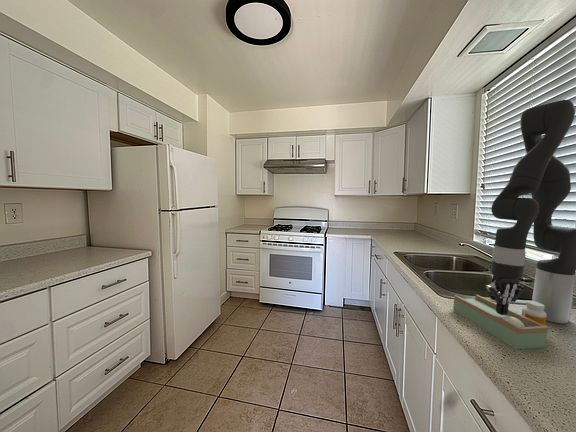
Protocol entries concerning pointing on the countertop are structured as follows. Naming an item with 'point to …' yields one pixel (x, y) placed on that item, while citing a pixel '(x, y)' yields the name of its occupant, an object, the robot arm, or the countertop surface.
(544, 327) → the runway
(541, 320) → the supplement bottle
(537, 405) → the countertop surface
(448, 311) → the countertop surface
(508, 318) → the ball
